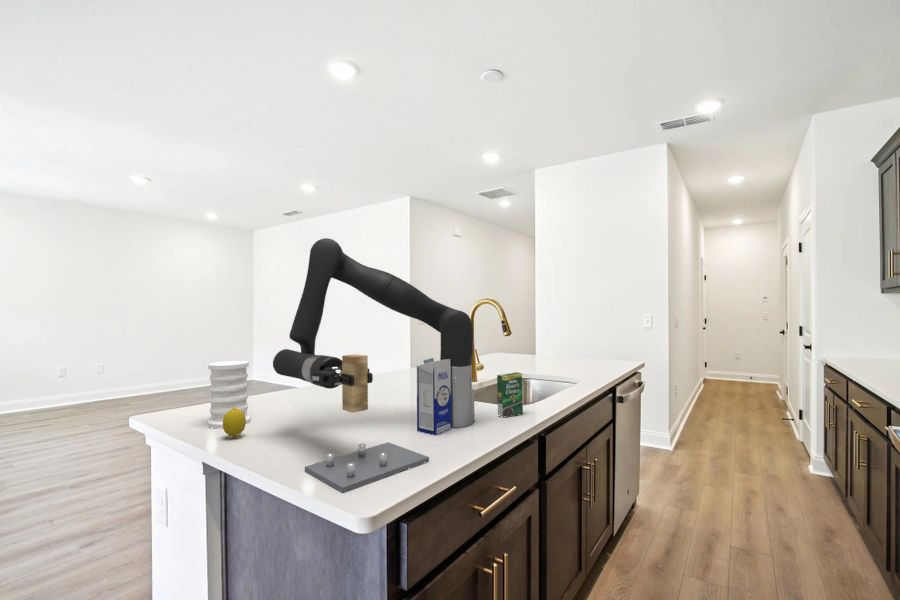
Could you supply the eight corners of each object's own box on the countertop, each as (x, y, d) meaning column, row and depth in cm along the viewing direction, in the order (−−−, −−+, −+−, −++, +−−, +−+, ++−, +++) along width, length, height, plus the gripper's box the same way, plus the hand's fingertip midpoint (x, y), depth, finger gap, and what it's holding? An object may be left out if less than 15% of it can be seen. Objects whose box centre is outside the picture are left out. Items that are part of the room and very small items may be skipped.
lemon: (240, 433, 119) (239, 404, 120) (249, 437, 116) (249, 407, 116) (219, 438, 115) (218, 408, 115) (228, 442, 112) (228, 411, 112)
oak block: (358, 406, 99) (357, 354, 99) (367, 409, 96) (367, 355, 96) (342, 409, 97) (342, 355, 97) (352, 412, 94) (351, 357, 94)
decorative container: (228, 430, 122) (228, 366, 122) (197, 426, 126) (197, 364, 126) (259, 419, 133) (258, 361, 133) (229, 416, 137) (229, 359, 137)
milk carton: (435, 435, 116) (434, 360, 116) (416, 431, 120) (415, 358, 120) (451, 429, 122) (450, 357, 122) (432, 425, 126) (432, 356, 126)
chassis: (388, 446, 108) (388, 432, 108) (429, 461, 97) (429, 445, 97) (304, 471, 92) (304, 454, 92) (342, 492, 81) (342, 474, 81)
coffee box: (502, 418, 133) (501, 375, 133) (496, 416, 135) (496, 374, 135) (523, 414, 136) (523, 373, 136) (517, 412, 139) (517, 371, 139)
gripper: (295, 358, 102) (332, 365, 89) (348, 353, 112) (388, 359, 99) (295, 390, 102) (332, 402, 89) (348, 382, 112) (388, 391, 99)
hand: (362, 379), depth 95 cm, fingers closed on oak block, 4 cm apart
